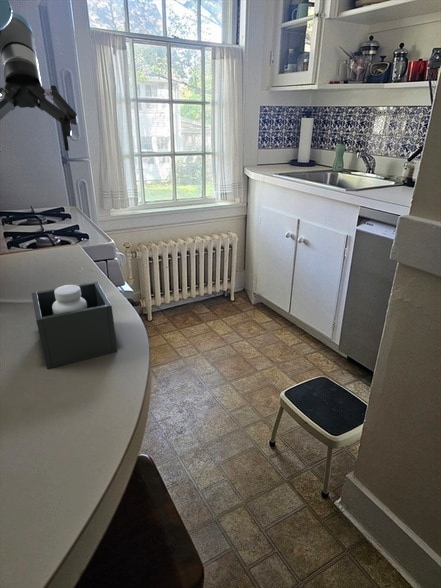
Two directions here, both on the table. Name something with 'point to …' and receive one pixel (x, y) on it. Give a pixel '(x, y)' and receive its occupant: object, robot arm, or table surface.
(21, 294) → the table surface
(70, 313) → the trash bin
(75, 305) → the pill bottle
